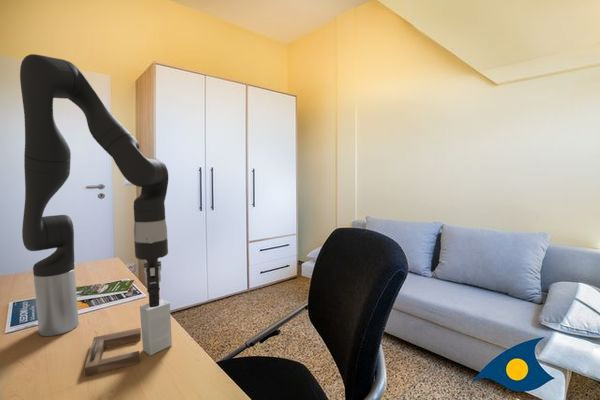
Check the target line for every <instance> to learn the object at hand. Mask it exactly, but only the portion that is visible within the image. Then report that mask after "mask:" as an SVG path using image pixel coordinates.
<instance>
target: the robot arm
mask: <svg viewBox="0 0 600 400" xmlns="http://www.w3.org/2000/svg"><path fill="white" fill-rule="evenodd" d="M19 68H20V69H19V80H20V83H19V84H20V90H21V98H22V107H23V113H24V153H23V154H24V155H23V156H24V157H23V158H24V159H23V160H24V161H23V162H24V163H23V164H24V166H23V167H24V188H25V193H24V195H25V196H24V206H23V207H24V209H23V216H22V217H23V219H22V227H21V228H22V230H21V236H22V242H23V246H24V248H25V249H26V250H27V251H30V252H39V251H40V252H41V251H45V250H50V249H56V250H55V251H54V252H52V253H51V254H50V255H49V256H47V257H45V258H43V259H40V260H38V261H37V262H35V263H34V264H33V267H32V274H33V282H34V292H35V293H34V294H35V301H36V302H35V304H36V317H37V325H38V326H37V328H38V334H39V335H40V336H42V337H53V336H58V335H61V334H65V333H68V332H70V331H72V330H73V329H75V328H77V327H78V326H79V323H80V321H79V311H78V310H79V309H78V308H79V307H78V296H77V295H78V293H77V283H76V282H77V281H76V269H75V230H74V229H75V228H74V224H73V221H72V218H71V217H70V216H68V214H57V215H47V216H45V215H44V216H43V214H44V211H45V209H46V207H47V205H48V204H49V202H50V200H51V199H52V198H53V196H54V195H55V194H56V193H57V192H58V191H59V190H60V189H61V188H62V186H64V185H65V183H66V182H67V180H68V178H69V176H70V173H71V157H72V156H71V154H72V152H71V149H70V146H69V144H68V142H67V140H66V138H64V135H63V134H62V133H61V131H60V129H59V128H58V126H57V124H56V122H55V118H54V99H64V100H65V99H67V100H69V101H70V102H72V103H73V104H74V105H75V106H76V107H78V108H79V109H80V110H81V112H82V113H83V115H84V117H85V120H86V123H87V127H88V131H89V133H90V135H91V136H92V138H93V139H94V141H96V142H97V144H98V145H99V146H100V147H101V148H102V149H103V150H104V151H105V152H106V153H107V154H108V155H109V156H110V157H111V158H112V160H113V162H114V164H115V165H116V167H117V168H118V170H119V171H120V174H122V176H123V177H124V178H125V180H127V181H128V182H129V183H130V184H132V185H133V186H135V187H138V188H140V189H141V191H140V195H139V196H138V197H136V198H135V199H134V201H133V218H134V222H133V240H134V242H133V243H134V256H135V258H136V259H137V260H141V261H142V260H145V261H146V262H144V263H143V273H144V279H145V281H144V282H145V284H146V285H147V289H146V292H147V294H148V304H149V306H150V307H151V308H152V307H157V306H159V300H160V294H159V293H160V289H161V288H160V283H161V282H162V281H161V280H162V278H161V272H162V260H159V259H161V258H163V257H166V256H167V255H168V254H169V248H168V247H169V246H168V245H169V244H168V243H169V242H168V240H169V239H168V225H167V221H166V206H165V200H166V197H167V190H168V185H169V170H168V168H167V165H166V164H165V163H164V161H162V160H161V159H158V158H154V157H146V156H144V155H143V153H142V152H141V151H140V144H139V141H138V139H136V138H135V137H134V136H133V135H132V134H131V132H129V130H127V128H125V127H124V125H123V124H122V123H121V122H120V121H119V120H118V119H117V118H116V117H115V116H114V114H113V113H111V111H110V110H109V109H108V108H107V106H106V104H105V103H104V102H103V100H102V99H101V98H100V96H99V94H98V93H97V92H96V91H95V88H93V86H92V85H91V83H90V82H89V80H88V79H87V78H86V77H85V75H84V74H83V72H82V71H81V70H80V68H79V67H77V66H76V65H75V64H74V63H73V62H71V61H69V60H65V59H63V58H56V57H51V56H47V55H41V54H36V53H34V54H32V53H31V54H28V55H26V56H25V57H24V58H23V59H22V61H21V63H20V67H19ZM158 260H159V261H158Z"/></svg>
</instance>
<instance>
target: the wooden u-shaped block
mask: <svg viewBox="0 0 600 400" xmlns="http://www.w3.org/2000/svg"><path fill="white" fill-rule="evenodd" d="M137 341H142V329H141V327H139V328H134V329H133V328H132V329H127V330H123V331H118V332H113V333H112V332H111V333H107V334H103V335H97V336H94V337H93V339H92V343H91V346H90V349H89V352H88V356H87V357H86V362H85V365H84V369H83V370H84V377H88V376H92V375H96V374H99V373H104V372H107V371H112V370H116V369H120V368H125V367H129V366H132V365H136V364H140V362H141V361H140V360H141V355H140V350H137V351H132V352H129V353H128V352H127V353H123V354H120V355H115V356H110V357H107V358H103V355H104V349H105V348H109V347H110V348H111V347H114V346H118V345H123V344H129V343H132V342H137Z"/></svg>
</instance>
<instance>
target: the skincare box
mask: <svg viewBox="0 0 600 400" xmlns="http://www.w3.org/2000/svg"><path fill="white" fill-rule="evenodd" d="M139 312H140V325H141V327H140V328H141V344H142V350H143V352H145V353H146V354H147V355H148V356H152V355H154V354H156V353H158V352H161V351H164V350H165V349H168V348H169V347H171V346H173V341H172V323H171V322H172V321H171V304H170V302H169V301H166V300H165V299H163V298H161V299H160V298H159V306H157V307H152V308H151V307H150V306H149V303H146V304H143V305H140V306H139Z"/></svg>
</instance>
